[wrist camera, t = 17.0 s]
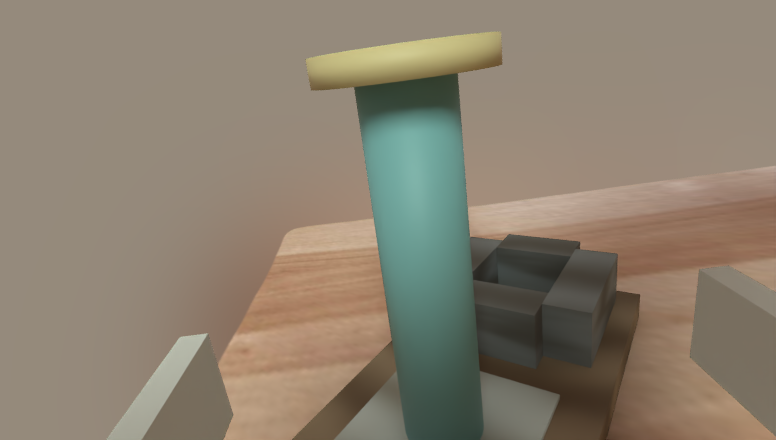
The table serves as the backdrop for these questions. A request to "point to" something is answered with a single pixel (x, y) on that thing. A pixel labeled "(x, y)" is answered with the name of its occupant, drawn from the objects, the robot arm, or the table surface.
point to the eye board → (550, 377)
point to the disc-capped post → (421, 217)
